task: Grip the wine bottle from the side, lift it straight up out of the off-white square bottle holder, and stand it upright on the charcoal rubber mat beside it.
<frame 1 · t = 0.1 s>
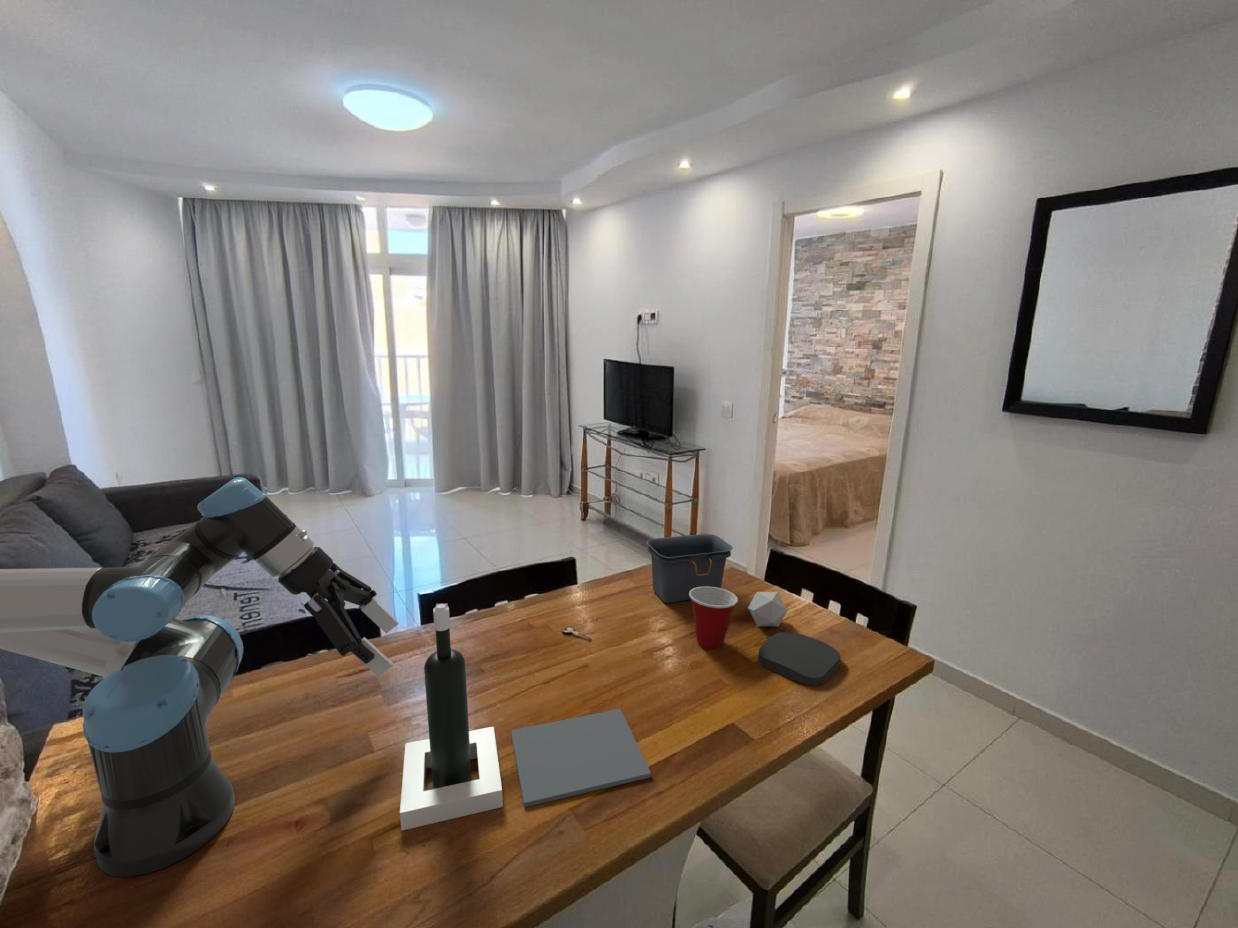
hand: (389, 647, 95), 15 cm above the table, tool tilted 35°, fingers open, 13 cm apart
plastic cup: (710, 643, 126), on the table
die: (766, 624, 135), on the table
bottle holder: (452, 781, 86), on the table
storage bin: (688, 595, 149), on the table
wine bottle: (452, 782, 86), resting in bottle holder
coaster mat: (577, 754, 92), on the table
media streaming box: (798, 663, 120), on the table
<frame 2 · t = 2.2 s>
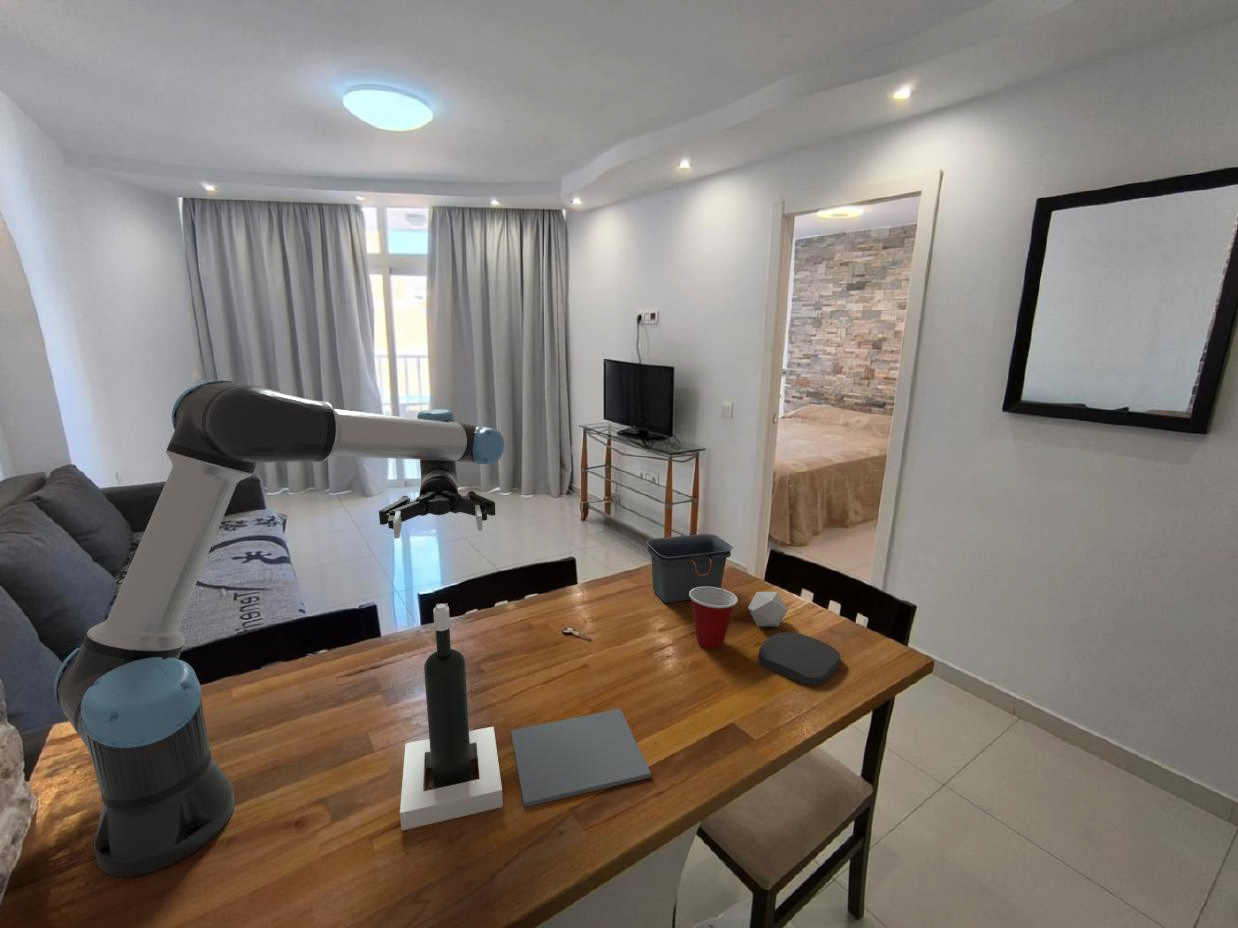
hand: (438, 527, 94), 36 cm above the table, tool horizontal, fingers open, 13 cm apart
nothing on the table moved.
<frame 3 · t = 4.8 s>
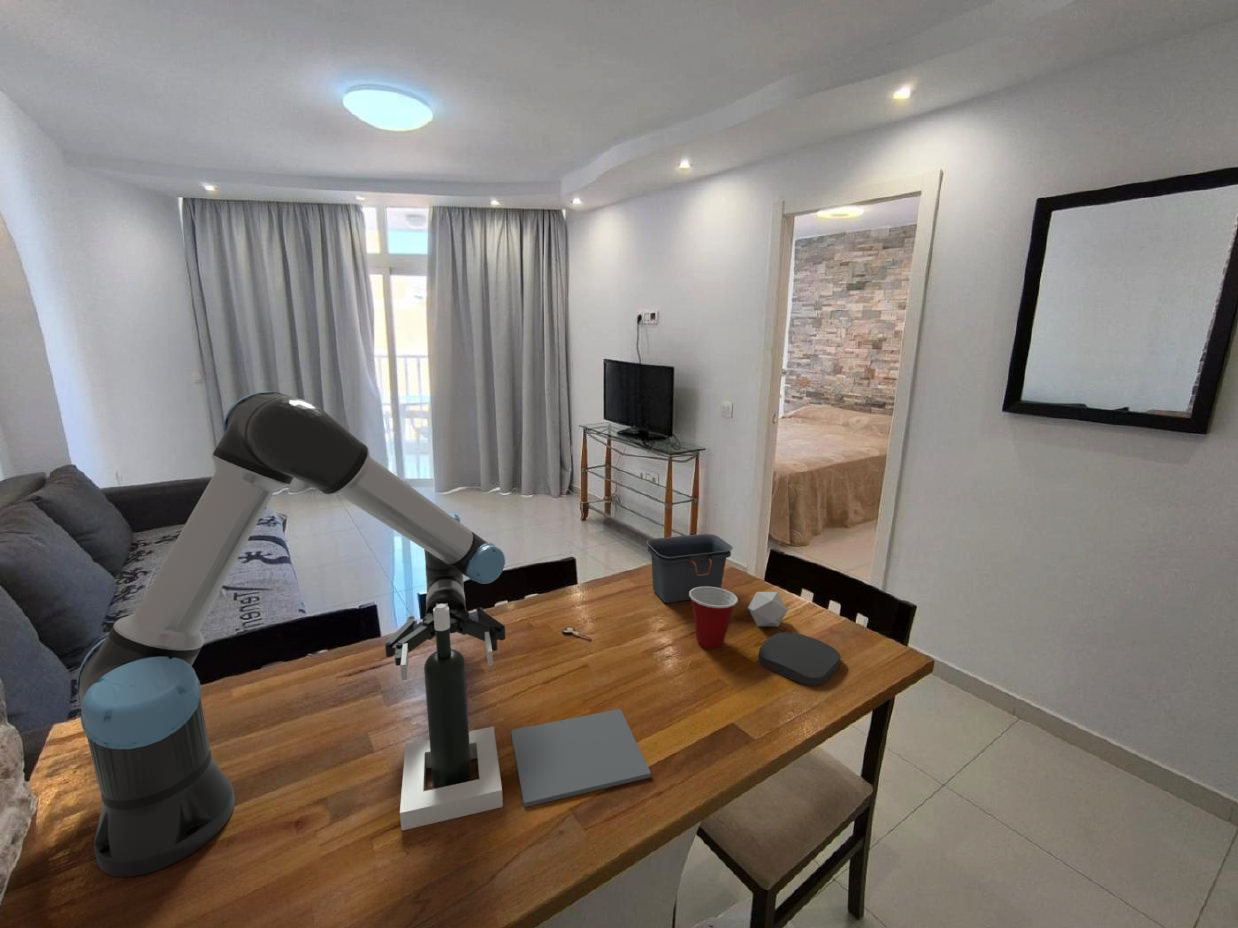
hand: (448, 665, 91), 15 cm above the table, tool horizontal, fingers open, 13 cm apart
nothing on the table moved.
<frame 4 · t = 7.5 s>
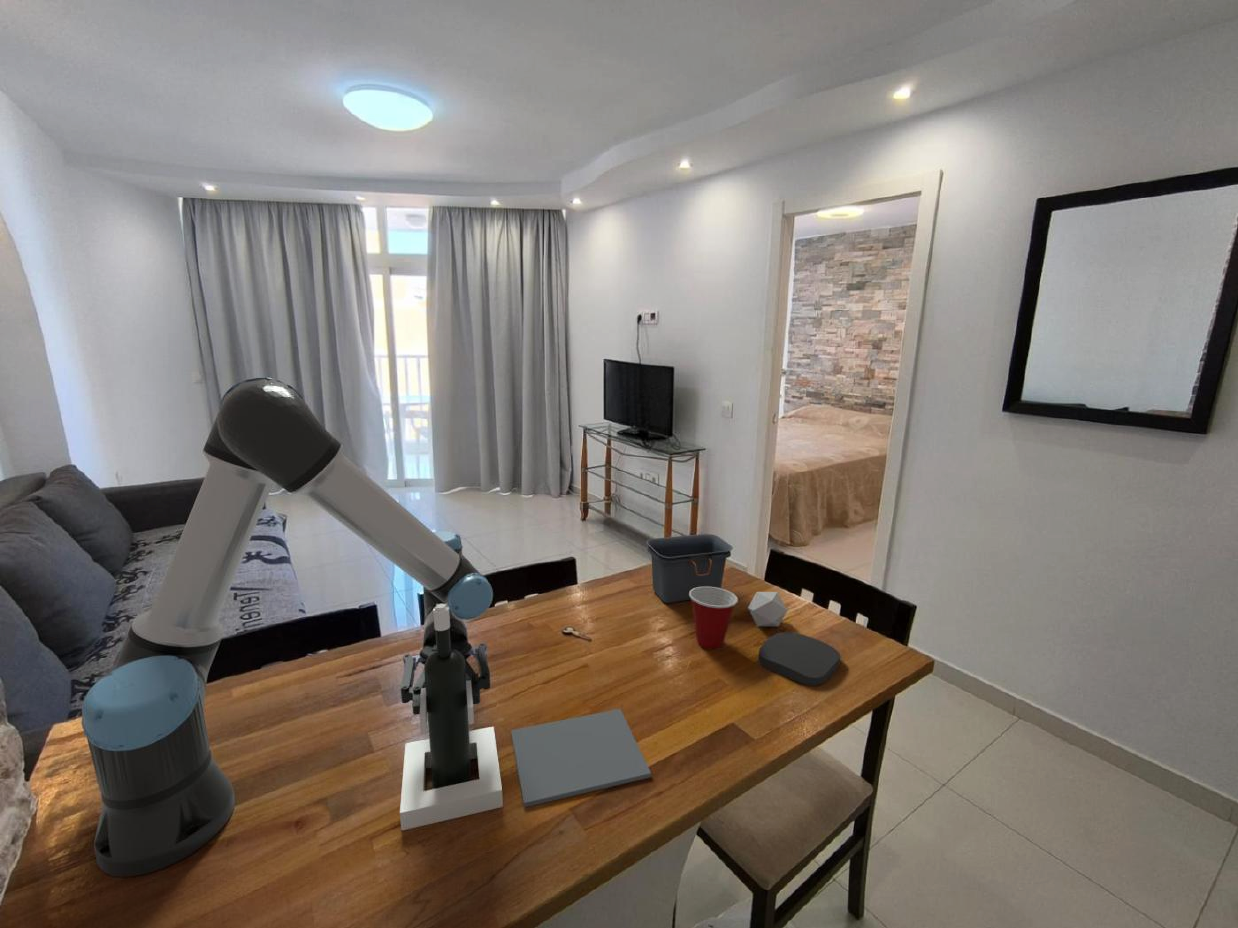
hand: (447, 719, 78), 15 cm above the table, tool horizontal, fingers closed on wine bottle, 6 cm apart
wine bottle: (452, 782, 86), resting in bottle holder, touching gripper
everything else where it was.
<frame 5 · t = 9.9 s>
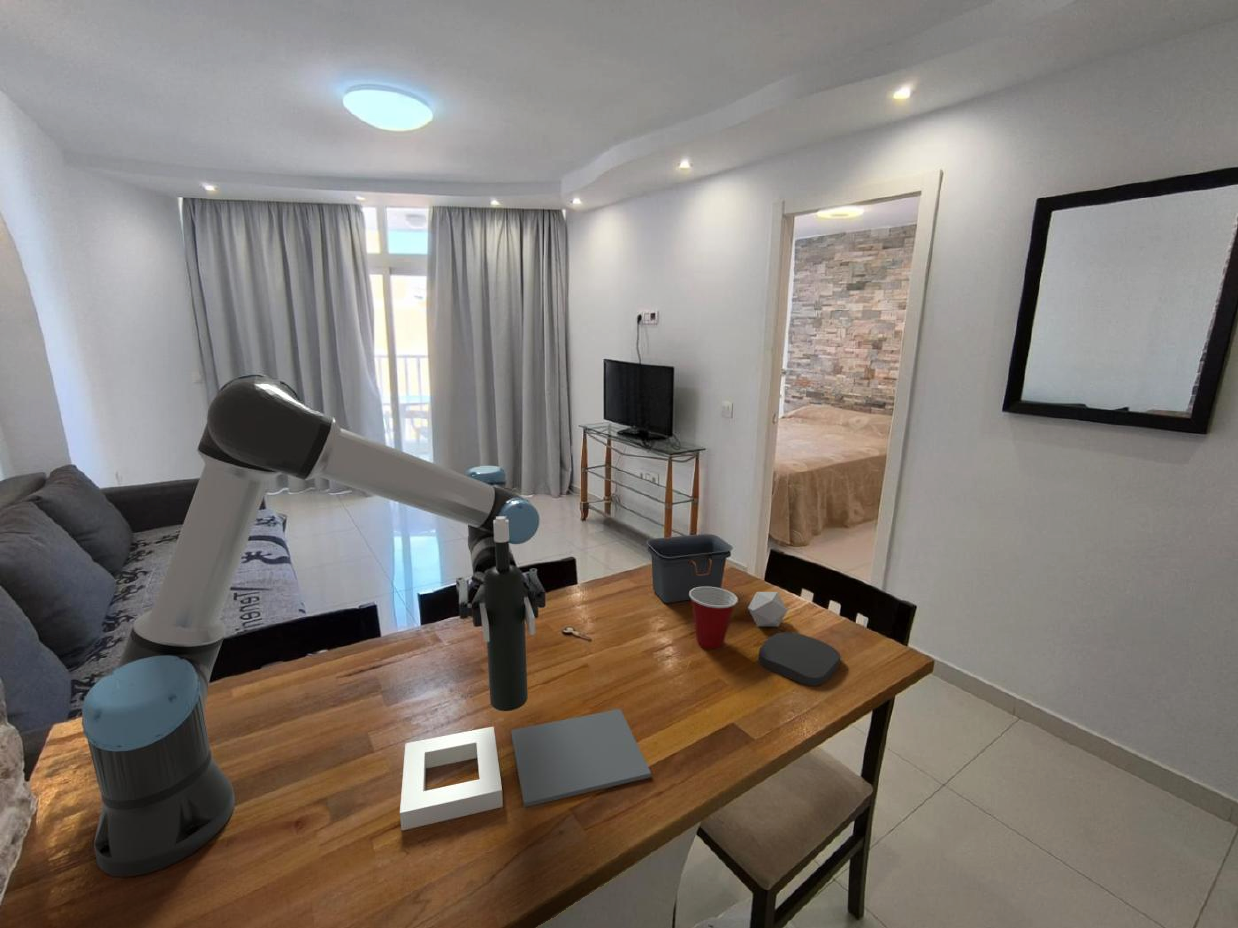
hand: (509, 629, 79), 27 cm above the table, tool horizontal, fingers closed on wine bottle, 6 cm apart
wine bottle: (509, 700, 87), point 12 cm above the table, touching gripper
everything else where it was.
when the fingers open (17 cm above the table, at t = 12.5 s): wine bottle drops 1 cm, resting on coaster mat.
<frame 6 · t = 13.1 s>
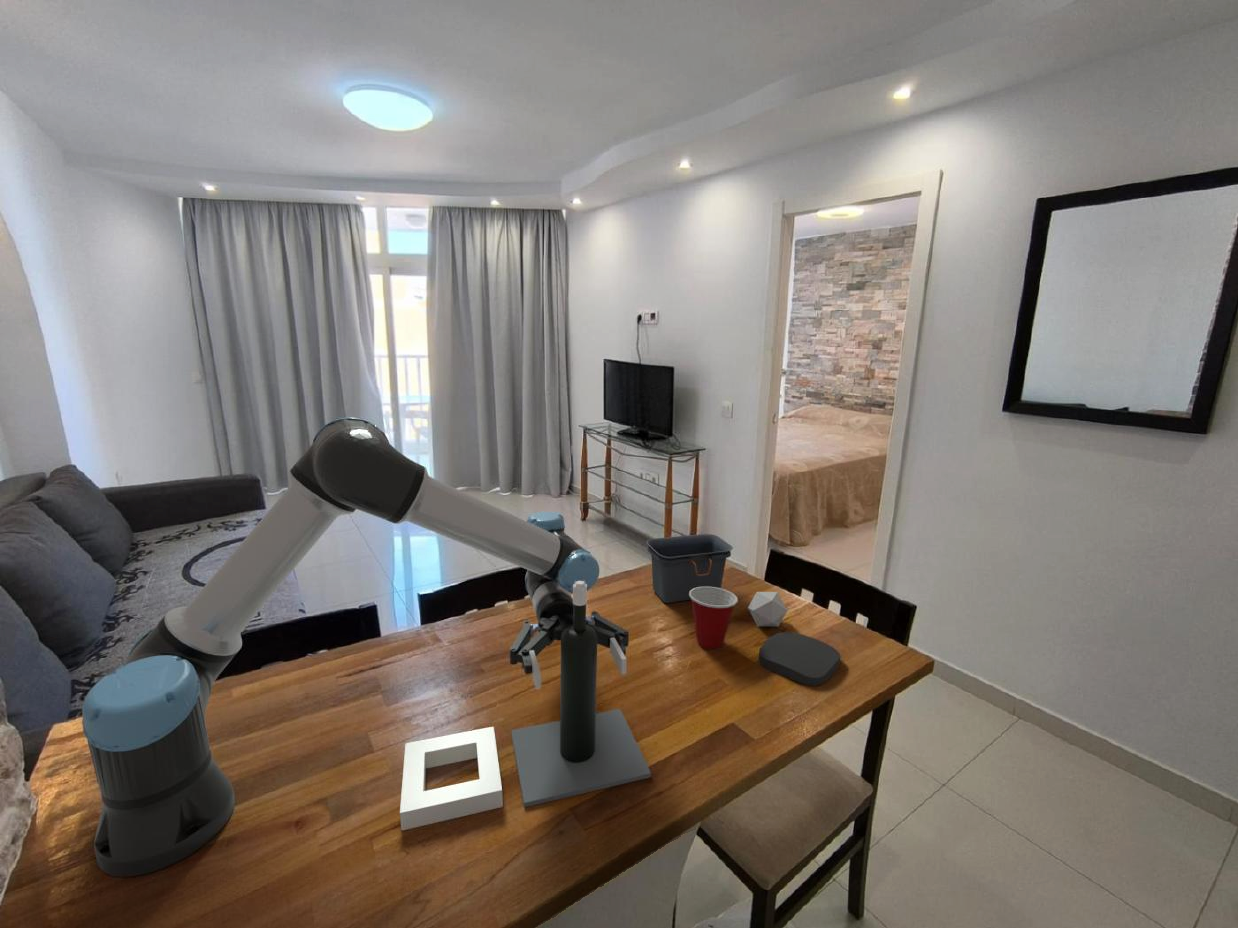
hand: (582, 674, 85), 17 cm above the table, tool horizontal, fingers open, 13 cm apart
wine bottle: (577, 750, 92), point 1 cm above the table, touching coaster mat
everything else where it was.
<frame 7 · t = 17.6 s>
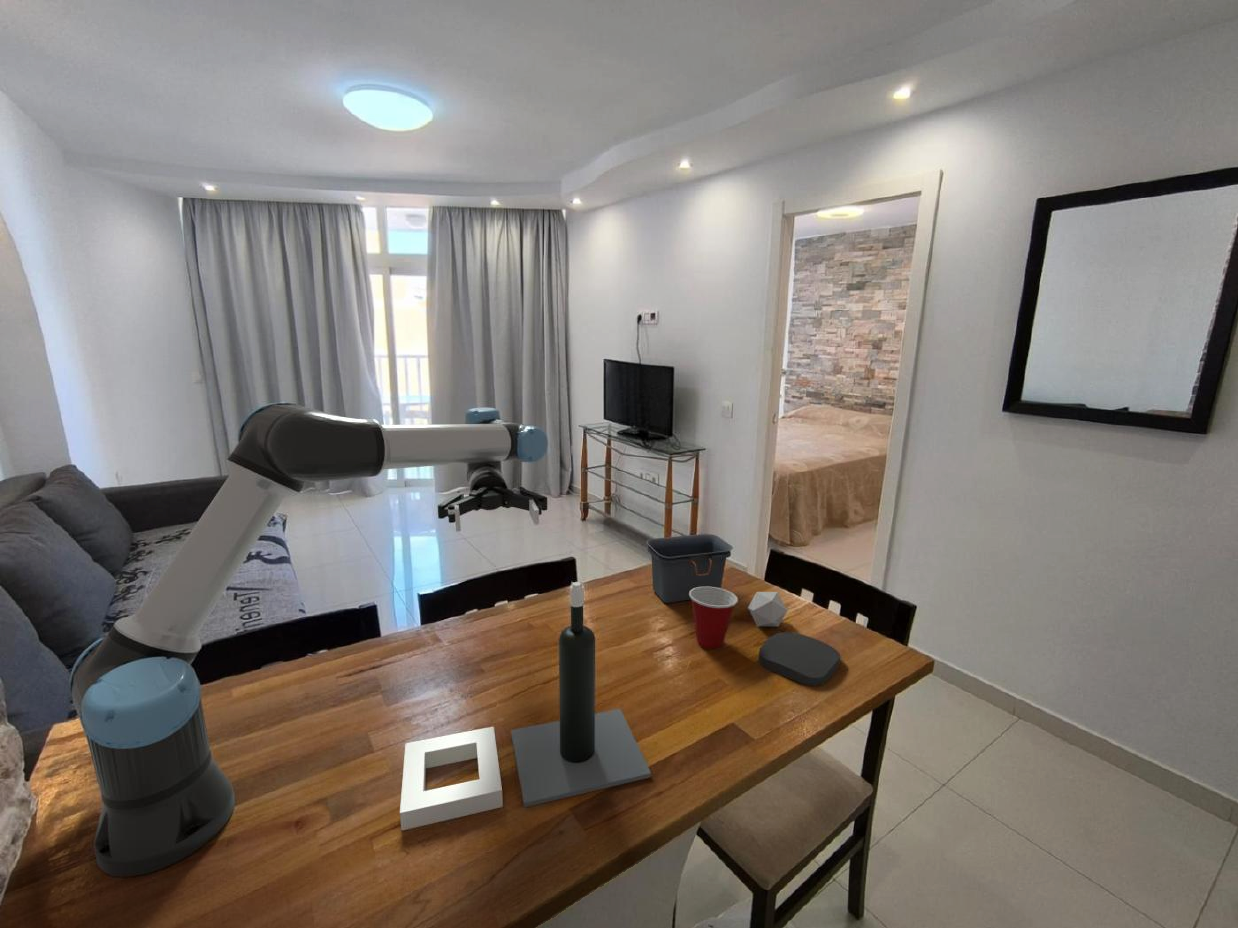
hand: (498, 520, 97), 36 cm above the table, tool horizontal, fingers open, 13 cm apart
nothing on the table moved.
at the end: wine bottle inside the target area on the coaster mat (0.1 cm from its centre), point 0.6 cm above the coaster mat's base; wine bottle tilted 0°; the gripper is holding nothing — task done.
